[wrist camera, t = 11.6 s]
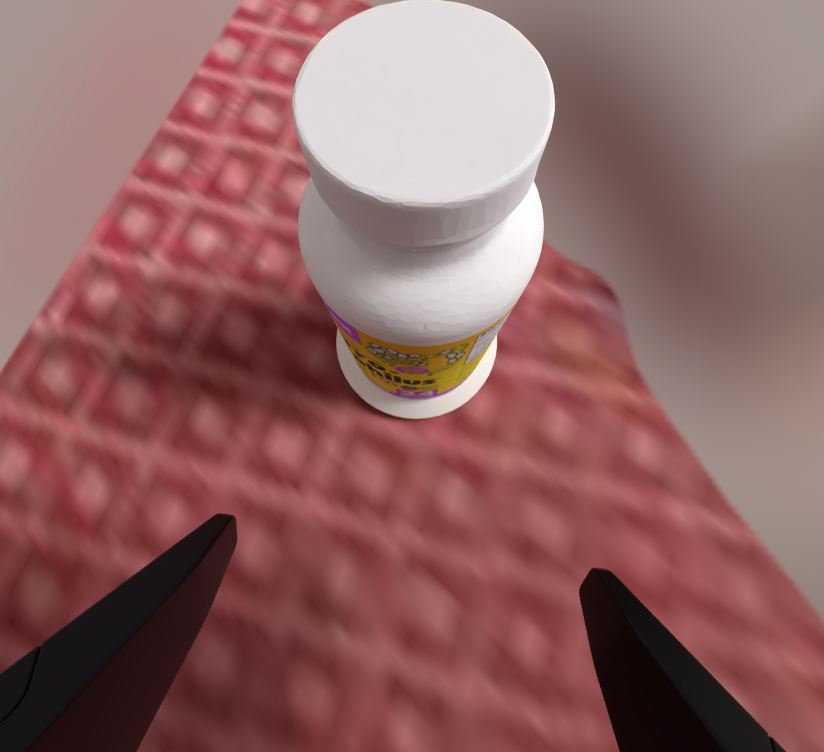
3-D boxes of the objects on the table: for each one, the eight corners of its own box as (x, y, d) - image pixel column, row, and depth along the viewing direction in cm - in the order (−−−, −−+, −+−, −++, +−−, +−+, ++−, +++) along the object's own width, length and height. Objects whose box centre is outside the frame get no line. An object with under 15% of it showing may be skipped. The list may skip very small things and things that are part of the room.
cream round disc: (417, 454, 18) (418, 453, 17) (306, 343, 19) (303, 339, 19) (526, 340, 19) (530, 336, 19) (414, 245, 21) (414, 239, 20)
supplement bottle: (327, 353, 19) (148, 119, 6) (405, 262, 20) (386, -84, 7) (432, 431, 18) (469, 338, 5) (506, 329, 19) (682, 57, 6)
